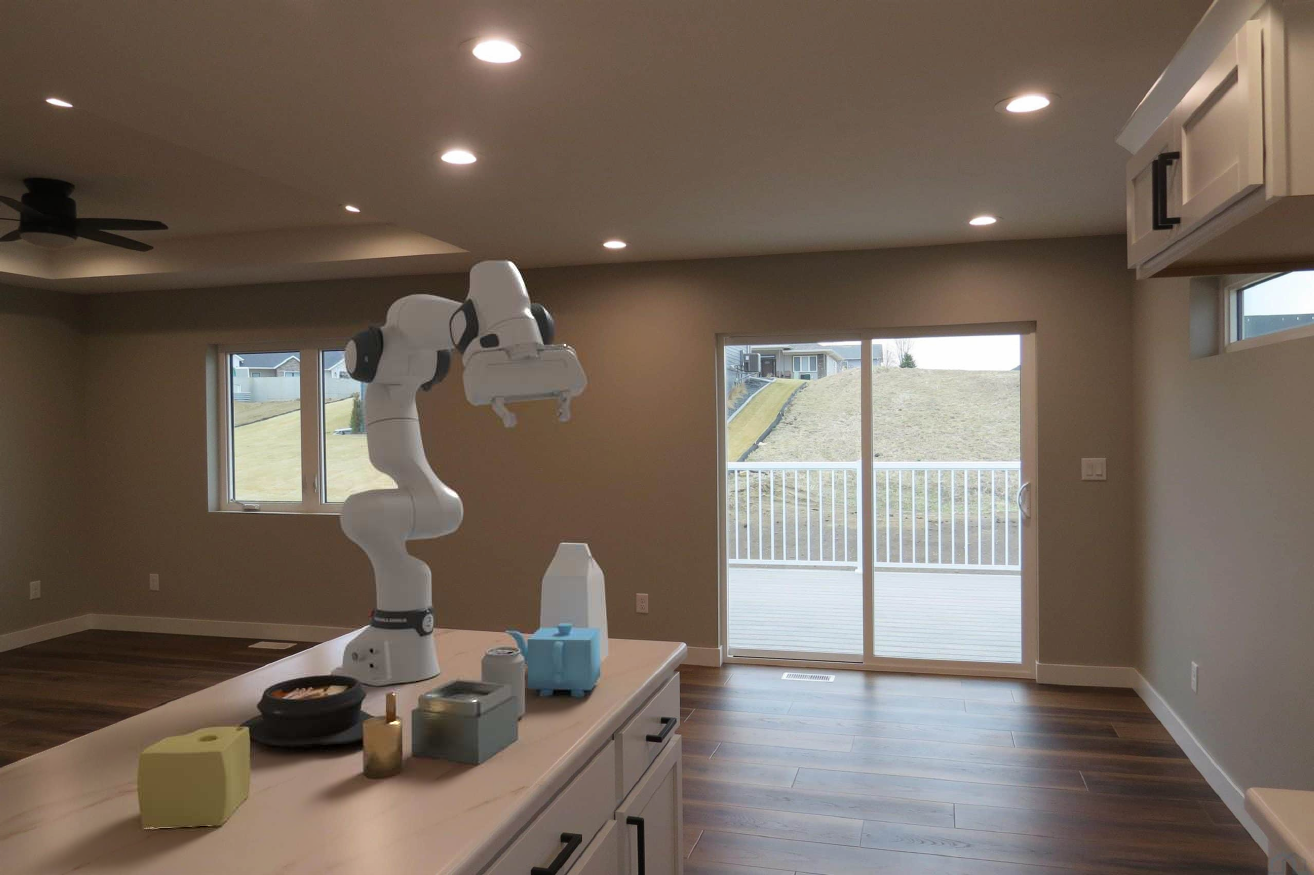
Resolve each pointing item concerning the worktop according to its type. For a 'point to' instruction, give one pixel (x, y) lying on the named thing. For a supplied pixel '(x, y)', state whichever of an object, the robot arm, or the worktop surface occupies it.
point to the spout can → (383, 743)
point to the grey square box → (464, 721)
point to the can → (506, 671)
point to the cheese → (194, 778)
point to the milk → (575, 592)
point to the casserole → (310, 712)
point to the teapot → (561, 658)
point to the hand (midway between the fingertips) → (538, 422)
